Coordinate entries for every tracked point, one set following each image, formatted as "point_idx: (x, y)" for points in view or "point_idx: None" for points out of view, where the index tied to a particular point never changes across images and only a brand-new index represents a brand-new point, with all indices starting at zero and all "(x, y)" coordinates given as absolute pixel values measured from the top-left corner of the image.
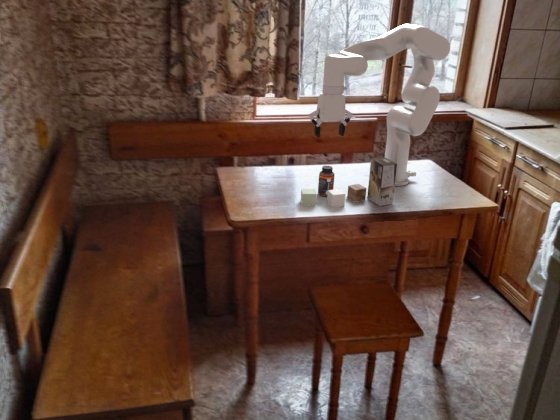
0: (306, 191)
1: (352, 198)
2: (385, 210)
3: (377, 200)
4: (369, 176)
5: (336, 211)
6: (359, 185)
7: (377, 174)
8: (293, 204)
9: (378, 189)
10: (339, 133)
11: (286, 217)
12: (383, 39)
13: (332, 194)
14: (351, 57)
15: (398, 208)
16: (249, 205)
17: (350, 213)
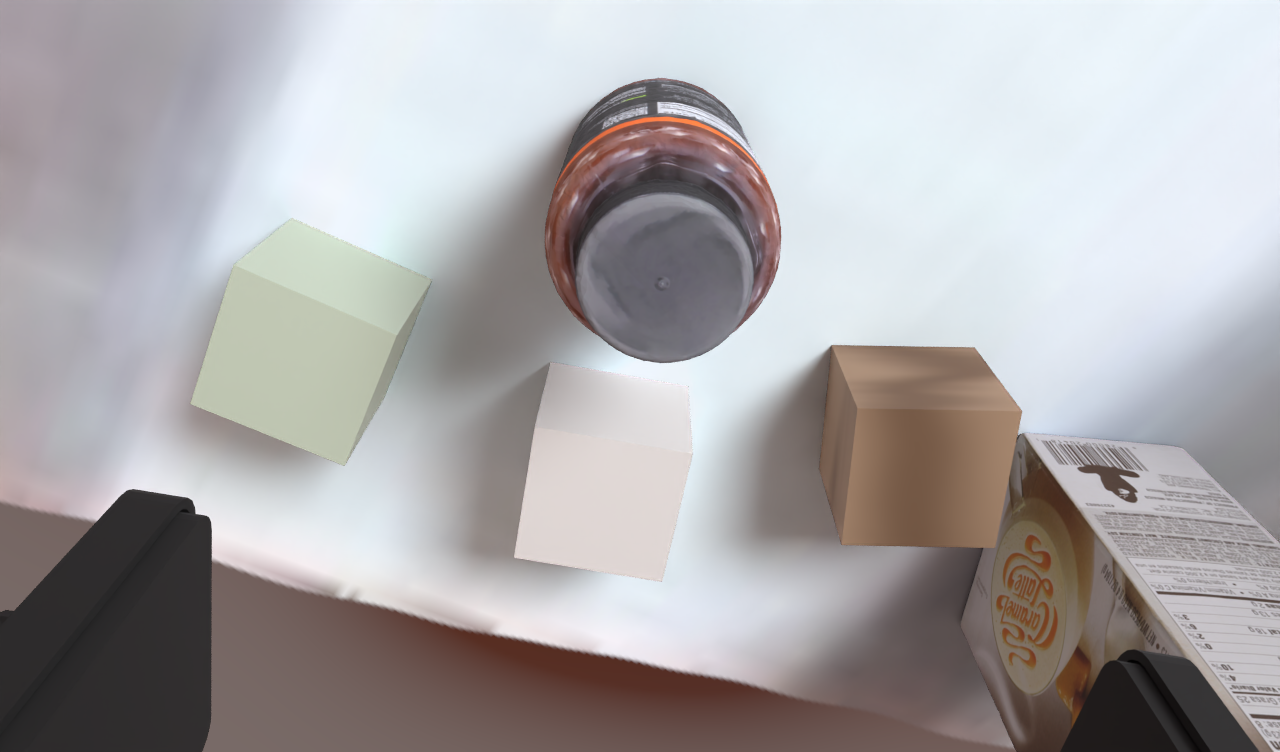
0: (263, 362)
1: (826, 442)
2: (934, 704)
3: (979, 623)
4: (1122, 582)
5: (517, 566)
6: (986, 455)
7: None
8: (175, 271)
9: (1018, 705)
10: (1097, 734)
11: (11, 496)
12: None
13: (516, 543)
14: None
15: None
16: None
17: (611, 640)
